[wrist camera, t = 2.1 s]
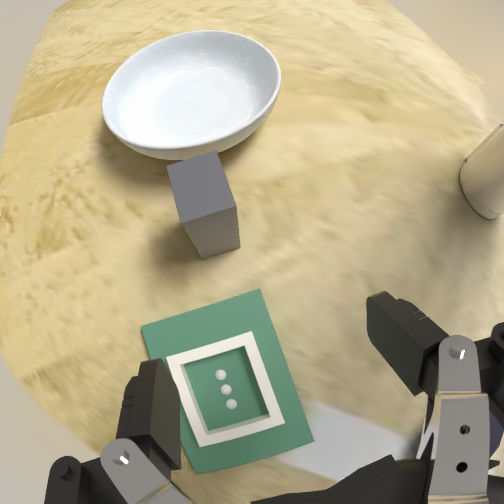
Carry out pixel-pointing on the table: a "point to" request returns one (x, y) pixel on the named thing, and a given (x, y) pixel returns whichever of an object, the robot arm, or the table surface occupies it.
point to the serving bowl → (191, 94)
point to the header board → (229, 383)
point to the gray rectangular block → (205, 204)
